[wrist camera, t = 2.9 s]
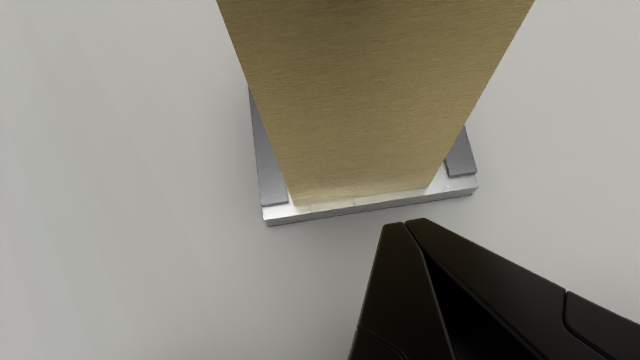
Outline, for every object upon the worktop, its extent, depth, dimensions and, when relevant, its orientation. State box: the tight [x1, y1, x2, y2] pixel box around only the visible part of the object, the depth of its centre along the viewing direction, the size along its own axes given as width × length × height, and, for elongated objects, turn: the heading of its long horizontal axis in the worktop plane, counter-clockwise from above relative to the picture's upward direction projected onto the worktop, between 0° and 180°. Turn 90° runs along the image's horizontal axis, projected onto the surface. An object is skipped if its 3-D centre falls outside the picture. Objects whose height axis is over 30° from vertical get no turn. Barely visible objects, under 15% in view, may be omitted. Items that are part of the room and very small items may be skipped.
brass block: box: [216, 0, 535, 206], centre depth 12 cm, size 6×5×12 cm
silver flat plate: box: [248, 85, 479, 226], centre depth 19 cm, size 15×8×1 cm, turn 8°
